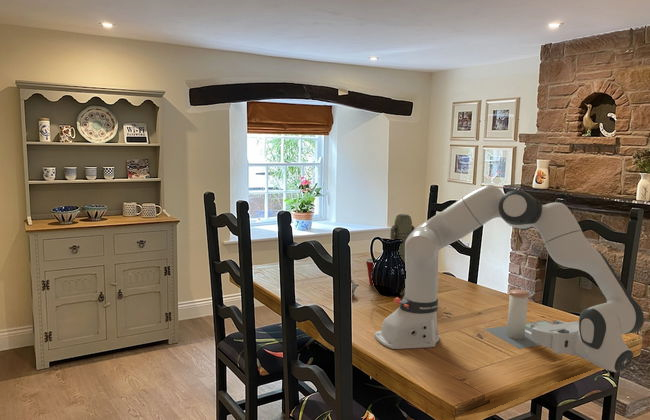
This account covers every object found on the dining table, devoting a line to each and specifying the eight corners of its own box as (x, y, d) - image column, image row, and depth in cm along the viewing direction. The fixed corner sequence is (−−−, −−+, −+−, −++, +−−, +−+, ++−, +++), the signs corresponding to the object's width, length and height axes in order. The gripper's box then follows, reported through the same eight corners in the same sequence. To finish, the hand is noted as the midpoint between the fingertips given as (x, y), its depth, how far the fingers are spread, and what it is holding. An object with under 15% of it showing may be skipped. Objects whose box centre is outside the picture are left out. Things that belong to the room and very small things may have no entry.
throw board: (518, 351, 170) (519, 348, 170) (483, 331, 186) (483, 328, 186) (584, 340, 180) (584, 337, 180) (545, 322, 197) (545, 320, 197)
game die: (350, 304, 223) (359, 291, 217) (332, 297, 223) (340, 283, 217) (354, 289, 230) (362, 276, 224) (336, 282, 230) (344, 268, 223)
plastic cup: (387, 281, 247) (388, 257, 245) (387, 288, 236) (388, 262, 235) (364, 280, 248) (365, 256, 246) (364, 286, 237) (364, 261, 236)
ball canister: (514, 340, 176) (518, 295, 174) (502, 333, 182) (505, 290, 180) (528, 338, 179) (532, 293, 176) (516, 331, 184) (519, 288, 182)
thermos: (416, 292, 231) (420, 215, 226) (396, 296, 224) (400, 217, 219) (403, 287, 238) (407, 212, 233) (383, 291, 232) (386, 214, 227)
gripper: (604, 326, 159) (568, 311, 171) (553, 333, 151) (519, 318, 164) (602, 345, 160) (566, 329, 172) (551, 354, 152) (518, 336, 165)
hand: (543, 324), depth 168 cm, fingers open, 8 cm apart
